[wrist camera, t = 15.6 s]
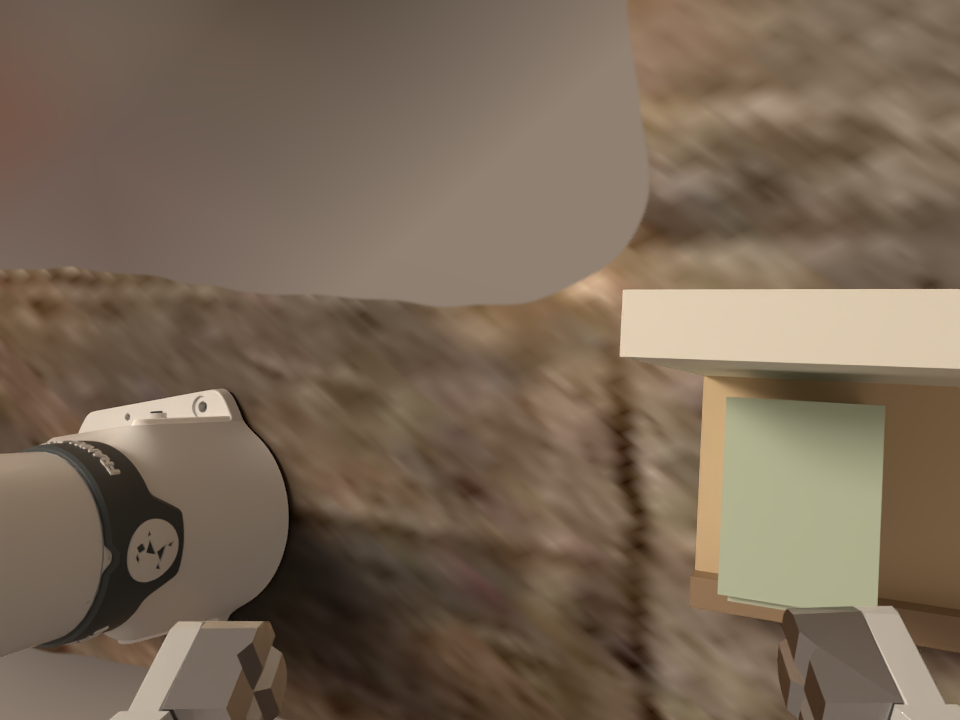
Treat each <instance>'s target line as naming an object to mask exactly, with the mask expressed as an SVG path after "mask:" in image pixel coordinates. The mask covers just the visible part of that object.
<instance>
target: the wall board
mask: <svg viewBox="0 0 960 720" xmlns="http://www.w3.org/2000/svg"><path fill="white" fill-rule="evenodd" d="M620 357H624V358H628V359H633V360H637V361H642V362H646V363H650V364H655V365H659V366H664V367H668V368H673V369H677V370H682V371H686V372H690V373H695V374H699V375H704V388H703V410H702V431H701V453H700V475H699V497H698V519H697V541H696V562H695V571H694V572H693V574H692V575H691V578H690V600H689V607H693V608H699V609H705V610H711V611H717V612H723V613H729V614H734V615H740V616H746V617H752V618H758V619H764V620H770V621H775V622H781V623H782V620H783V614H784V612H785V611H786V610H780V609H774V608H768V607H762V606H756V605H750V604H744V603H738V602H732V601H727V599H728V596H725V595H719V594H717V592H718V570H719V548H720V527H721V505H722V484H723V462H724V440H725V419H726V397H741V398H760V399H778V400H795V401H813V402H831V403H849V404H866V405H881V406H885V428H884V453H883V478H882V503H881V528H880V554H879V579H878V604H877V606H892V607H893V608H895V609H896V610H897V611H898V612H899V614H900V616H901V618H902V620H903V622H904V624H905V626H906V628H907V630H908V631H909V633H910V635H911V637H912V639H913V641H914V643H915V645H916V646H922V647H928V648H934V649H940V650H946V651H951V652H957V653H960V289H779V290H623V301H622V321H621V341H620Z"/></svg>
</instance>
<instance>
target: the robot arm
mask: <svg viewBox="0 0 960 720" xmlns="http://www.w3.org/2000/svg"><path fill="white" fill-rule="evenodd" d="M206 404H207V409H206V407H205V406H206ZM288 523H289V511H288V500H287V494H286V489H285V485H284V481H283V478H282V475H281V473H280V470H279V468H278V465H277V463H276V461H275V459H274V458H273V456H272V454H271V453H270V451H269V450H268V448H267V447H266V446H265V444H264V443H263V442H262V441H261V440H260V439H259V438H258V437H257V436H256V435H255V434H254V433H253V432H252V431H251V430H250V428H249V427H248V426H247V425H246V424H245V422H244V421H243V418H242V416H241V413H240V411H239V409H238V406H237V404H236V402H235V400H234V398H233V396H232V395H231V394H230V392H229V391H227V390H225V389H214V390H207V391H202V392H196V393H191V394H185V395H180V396H175V397H169V398H164V399H158V400H153V401H147V402H142V403H137V404H131V405H126V406H120V407H115V408H109V409H104V410H99V411H94V412H91V413H90V414H88V416H87V417H86V419H85V420H84V422H83V424H82V426H81V428H80V431H79V433H78V434H73V435H67V436H61V437H56V438H52V439H51V440H49V441H48V442H47V443H44V444H41V445H37V446H33V447H29V448H27V449H24V450H22V451H20V452H19V453H9V454H0V657H3V656H6V655H9V654H12V653H15V652H18V651H22V650H25V649H28V648H31V647H34V646H38V647H47V648H48V647H57V646H61V645H64V644H73V643H78V642H82V641H85V640H89V639H91V638H94V637H96V636H98V635H100V634H102V633H104V634H105V635H107V636H109V637H111V638H113V639H117V640H118V642H119V643H120V644H131V643H135V642H139V641H143V640H147V639H150V638H154V637H158V636H162V635H165V634H167V636H166V638H165V640H164V642H163V644H162V646H161V648H160V650H159V652H158V654H157V656H156V658H155V660H154V662H153V664H152V665H151V667H150V669H149V671H148V674H147V675H146V677H145V679H144V681H143V683H142V685H141V687H140V689H139V691H138V693H137V695H136V697H135V699H134V701H133V703H132V704H131V707H130V708H129V710H128V711H120V712H118V713H117V714H116V715H115V716H113V717H112V718H111V719H110V720H274V719H275V718H276V717H277V716H278V715H279V714H280V712H281V709H282V706H283V702H284V699H285V695H286V685H287V669H286V663H285V660H284V657H283V654H282V653H281V652H280V651H278V650H277V649H276V648H274V647H273V646H272V644H273V641H274V638H275V633H274V631H273V628H272V626H271V624H270V622H266V621H227V620H228V618H229V616H230V615H231V614H232V613H233V612H234V611H235V610H236V609H238V608H239V607H241V606H243V605H244V604H246V603H248V602H249V601H251V600H252V599H254V598H255V597H256V596H257V595H258V594H260V592H261V591H262V590H263V589H264V588H265V587H266V586H267V585H268V583H269V582H270V581H271V579H272V578H273V576H274V574H275V572H276V570H277V568H278V566H279V564H280V562H281V559H282V556H283V553H284V549H285V546H286V541H287V535H288ZM782 627H783V630H784V633H785V636H786V639H785V640H784V641H783V642H781V643H780V644H779V648H778V658H777V662H778V675H779V682H780V686H781V691H782V695H783V698H784V701H785V705H786V708H787V710H789V711H790V712H791V713H792V714H793V715H794V716H795V717H796V718H797V719H798V720H960V706H959V705H958V704H946V702H945V700H944V698H943V696H942V694H941V692H940V690H939V688H938V687H937V685H936V683H935V681H934V679H933V677H932V675H931V673H930V671H929V669H928V668H927V666H926V664H925V662H924V660H923V658H922V656H921V654H920V652H919V650H918V649H917V647H916V645H915V643H914V641H913V639H912V637H911V635H910V633H909V631H908V630H907V628H906V626H905V624H904V622H903V620H902V618H901V616H900V614H899V612H898V611H897V610H896V609H895V608H893V607H892V606H865V607H853V606H841V607H813V608H787V609H786V611H785V612H784V614H783V620H782Z"/></svg>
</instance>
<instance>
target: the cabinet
mask: <svg viewBox="0 0 960 720" xmlns="http://www.w3.org/2000/svg"><path fill="white" fill-rule="evenodd" d="M884 428H885V406H881V405H866V404H849V403H831V402H813V401H795V400H778V399H760V398H741V397H726V419H725V440H724V462H723V484H722V505H721V527H720V548H719V570H718V592H717V594H719V595H725V596H728V599H727V601H732V602H738V603H744V604H750V605H756V606H762V607H768V608H774V609H780V610H786V609H787V608H813V607H841V606H853V607H865V606H877V604H878V579H879V554H880V528H881V503H882V478H883V453H884Z"/></svg>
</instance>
